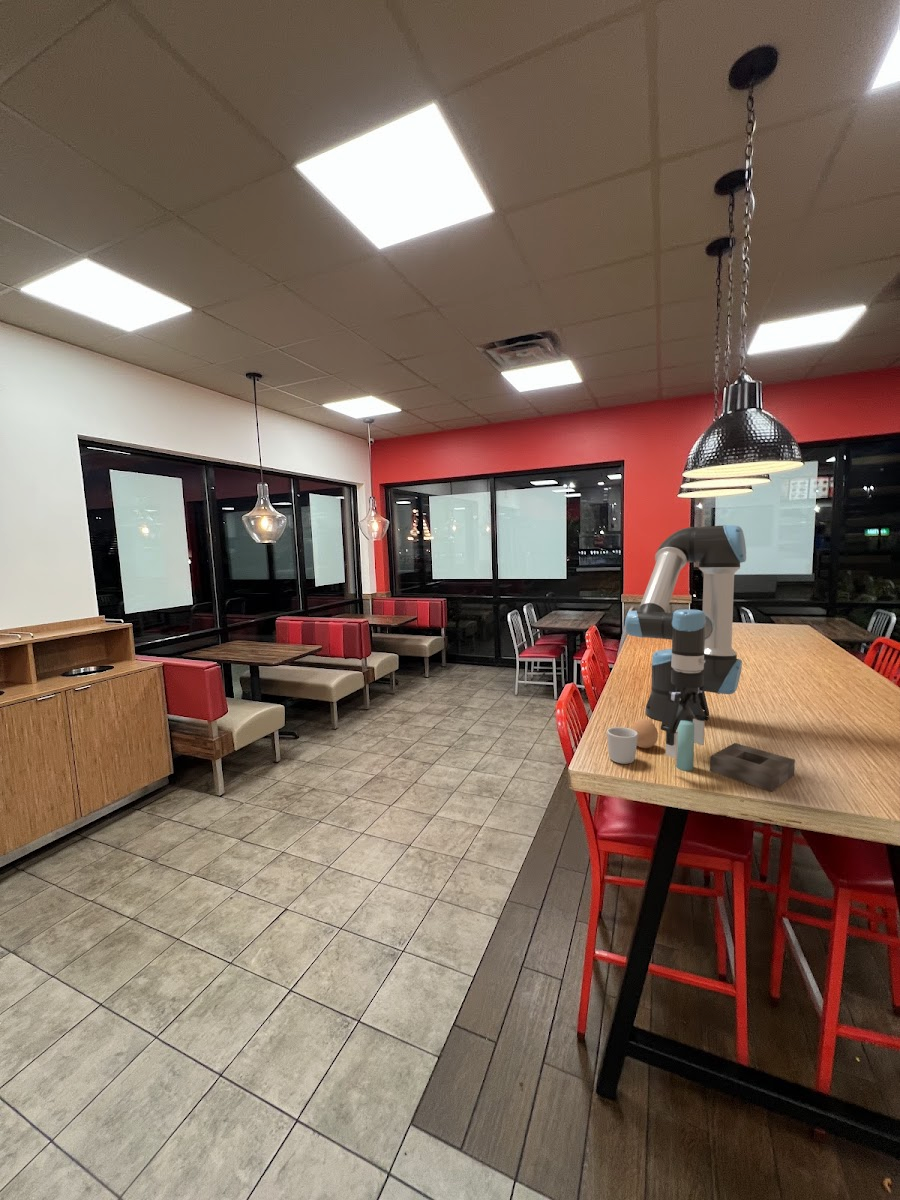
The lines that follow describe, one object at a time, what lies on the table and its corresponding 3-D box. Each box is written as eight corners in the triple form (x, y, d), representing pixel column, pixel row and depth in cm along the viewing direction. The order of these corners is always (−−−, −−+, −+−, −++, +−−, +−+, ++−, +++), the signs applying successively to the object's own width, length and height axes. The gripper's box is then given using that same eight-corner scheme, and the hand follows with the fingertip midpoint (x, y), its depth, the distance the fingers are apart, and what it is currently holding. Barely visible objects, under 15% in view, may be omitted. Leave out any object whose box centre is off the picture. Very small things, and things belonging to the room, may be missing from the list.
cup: (597, 751, 136) (598, 723, 135) (624, 749, 136) (625, 722, 136) (613, 767, 125) (614, 737, 124) (642, 765, 126) (643, 736, 125)
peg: (673, 767, 125) (674, 722, 124) (681, 763, 127) (682, 719, 126) (688, 772, 121) (689, 726, 120) (696, 768, 124) (697, 723, 123)
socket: (709, 770, 122) (710, 755, 122) (734, 756, 130) (734, 742, 130) (771, 791, 111) (772, 775, 110) (794, 774, 119) (794, 759, 119)
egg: (624, 745, 140) (625, 716, 139) (643, 741, 143) (644, 713, 142) (644, 754, 133) (644, 724, 132) (663, 749, 136) (664, 720, 135)
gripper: (676, 680, 112) (674, 767, 113) (725, 665, 126) (722, 742, 128) (646, 674, 118) (645, 757, 119) (696, 660, 132) (694, 734, 134)
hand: (685, 750), depth 124 cm, fingers open, 13 cm apart
